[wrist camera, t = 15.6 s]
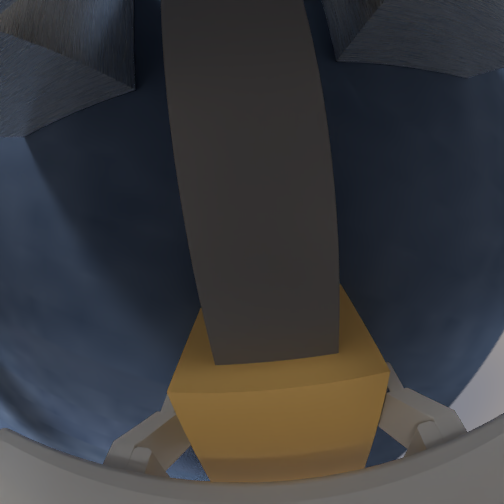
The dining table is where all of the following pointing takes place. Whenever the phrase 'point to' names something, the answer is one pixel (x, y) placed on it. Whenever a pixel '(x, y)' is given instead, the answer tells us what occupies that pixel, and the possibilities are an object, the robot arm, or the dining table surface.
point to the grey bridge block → (122, 48)
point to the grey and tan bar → (263, 251)
